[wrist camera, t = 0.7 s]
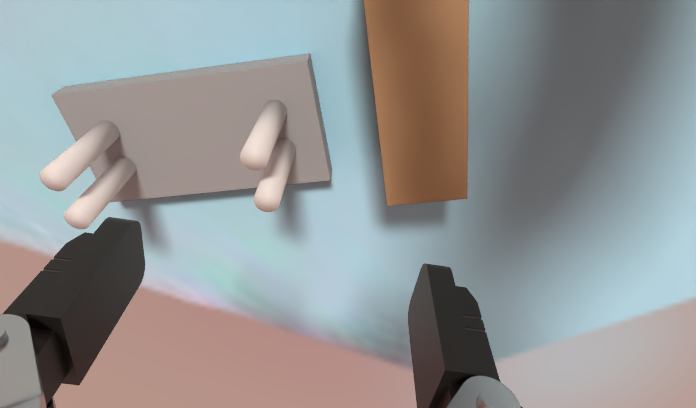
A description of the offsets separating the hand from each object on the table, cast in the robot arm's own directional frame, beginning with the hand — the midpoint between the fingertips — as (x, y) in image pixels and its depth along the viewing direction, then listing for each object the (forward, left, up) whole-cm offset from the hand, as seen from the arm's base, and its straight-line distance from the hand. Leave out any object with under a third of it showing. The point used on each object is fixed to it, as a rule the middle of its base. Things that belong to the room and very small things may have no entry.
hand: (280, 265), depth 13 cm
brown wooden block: (-5, 0, -18) cm, 18 cm away
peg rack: (+9, +3, -18) cm, 20 cm away
